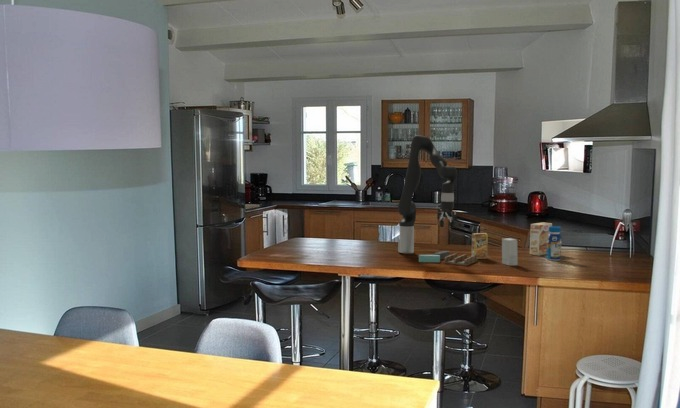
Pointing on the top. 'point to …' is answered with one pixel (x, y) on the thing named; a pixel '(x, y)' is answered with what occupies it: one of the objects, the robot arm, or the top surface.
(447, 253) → the charcoal stick
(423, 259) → the teal stick
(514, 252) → the skincare box
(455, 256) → the comb rack
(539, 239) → the coffeecake box
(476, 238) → the candy box
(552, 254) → the beverage bottle
